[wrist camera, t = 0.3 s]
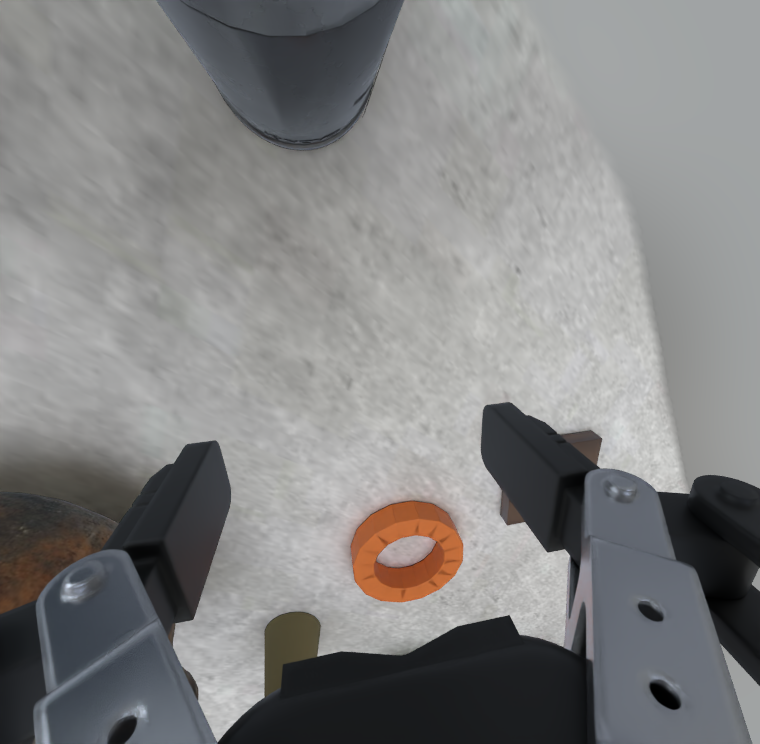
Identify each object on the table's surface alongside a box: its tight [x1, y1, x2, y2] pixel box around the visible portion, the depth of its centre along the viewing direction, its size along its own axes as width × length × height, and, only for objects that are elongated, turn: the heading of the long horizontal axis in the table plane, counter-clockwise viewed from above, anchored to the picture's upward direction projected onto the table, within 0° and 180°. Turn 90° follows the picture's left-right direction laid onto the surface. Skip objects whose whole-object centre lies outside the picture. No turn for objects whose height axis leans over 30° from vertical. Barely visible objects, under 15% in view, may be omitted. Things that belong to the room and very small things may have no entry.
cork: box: [265, 612, 321, 697], centre depth 34 cm, size 6×6×11 cm
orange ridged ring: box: [351, 501, 463, 602], centre depth 36 cm, size 11×11×2 cm
